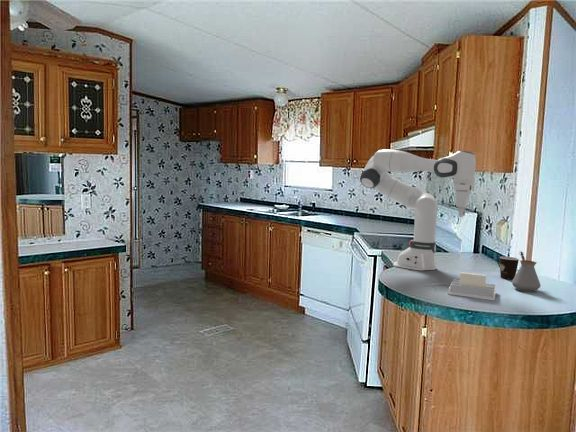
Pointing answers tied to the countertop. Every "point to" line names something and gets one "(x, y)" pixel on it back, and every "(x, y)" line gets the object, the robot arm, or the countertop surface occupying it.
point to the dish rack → (473, 290)
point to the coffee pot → (526, 276)
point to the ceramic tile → (472, 280)
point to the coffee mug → (508, 267)
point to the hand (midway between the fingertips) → (461, 216)
